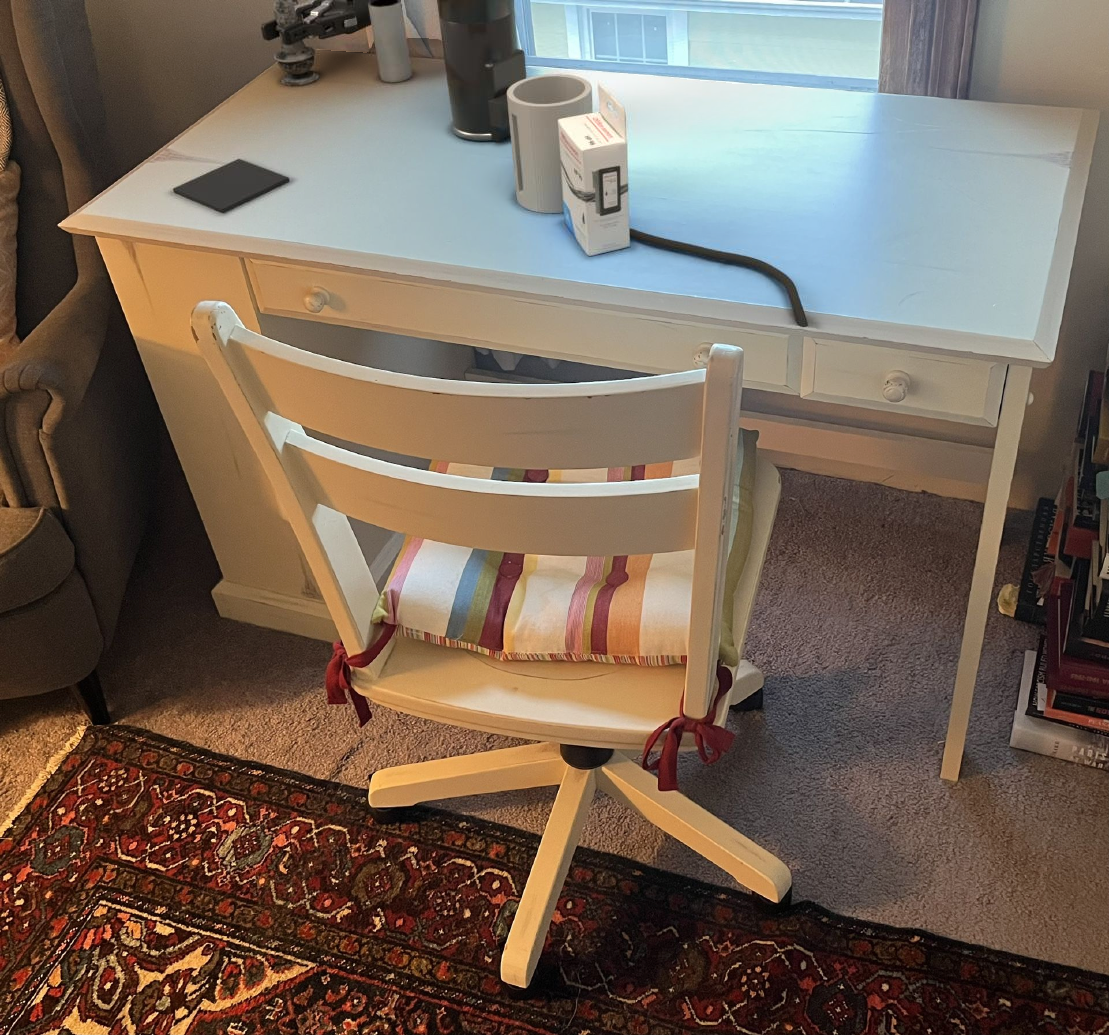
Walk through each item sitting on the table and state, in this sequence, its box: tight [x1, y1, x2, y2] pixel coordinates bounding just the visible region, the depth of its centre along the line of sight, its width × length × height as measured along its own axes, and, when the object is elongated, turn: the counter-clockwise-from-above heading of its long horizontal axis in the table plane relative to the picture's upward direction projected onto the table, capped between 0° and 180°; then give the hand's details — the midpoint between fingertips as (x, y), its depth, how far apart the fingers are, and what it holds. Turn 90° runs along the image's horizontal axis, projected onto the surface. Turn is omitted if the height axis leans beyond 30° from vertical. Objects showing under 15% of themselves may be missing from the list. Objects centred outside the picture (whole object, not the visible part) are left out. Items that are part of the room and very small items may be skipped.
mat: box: [172, 158, 290, 214], centre depth 132 cm, size 10×10×1 cm
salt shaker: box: [273, 0, 319, 87], centre depth 154 cm, size 6×6×12 cm
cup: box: [507, 73, 594, 214], centre depth 121 cm, size 9×9×12 cm
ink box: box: [558, 82, 631, 257], centre depth 112 cm, size 8×5×15 cm, turn 18°
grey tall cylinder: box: [368, 0, 413, 83], centre depth 153 cm, size 4×4×10 cm
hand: (274, 35), depth 152 cm, fingers closed on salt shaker, 3 cm apart
